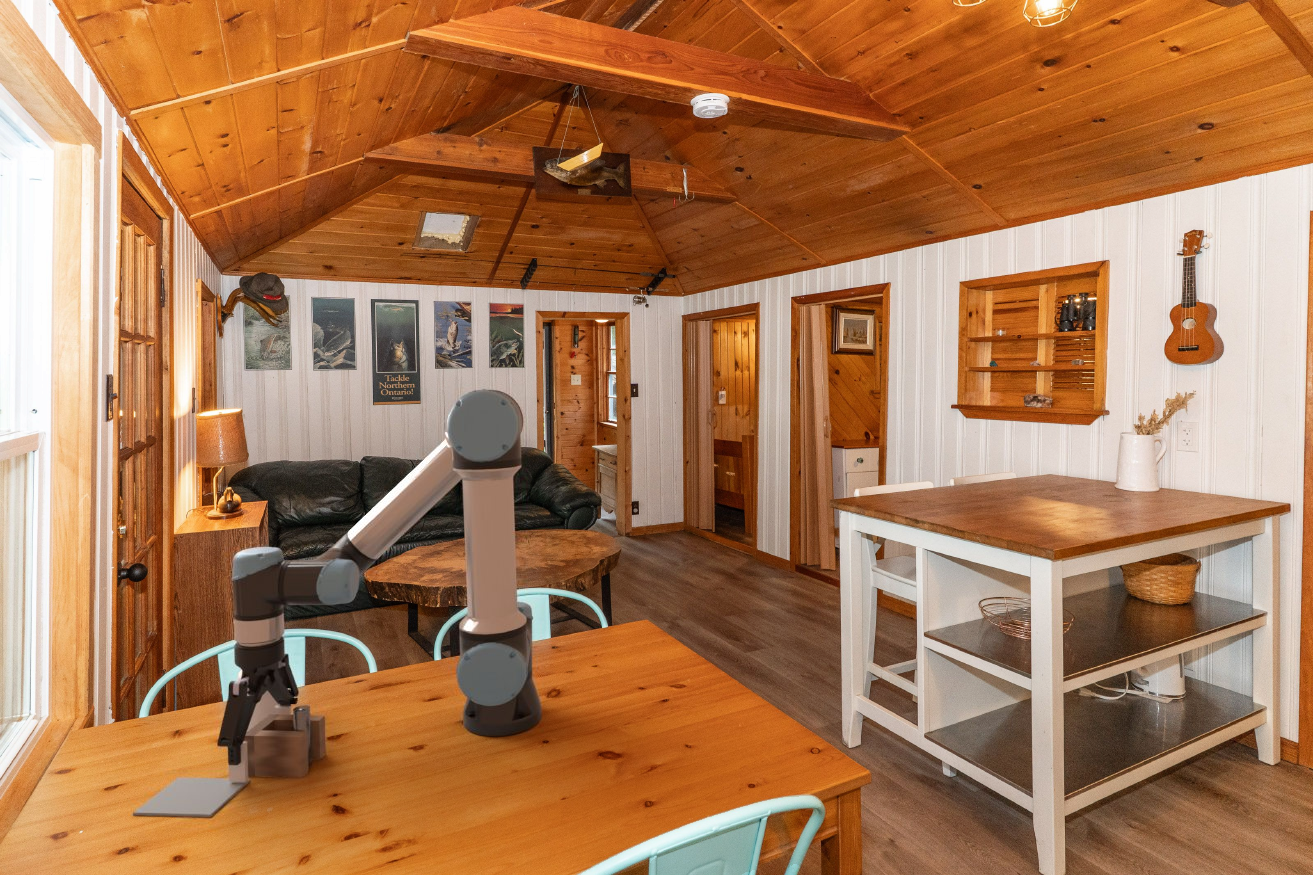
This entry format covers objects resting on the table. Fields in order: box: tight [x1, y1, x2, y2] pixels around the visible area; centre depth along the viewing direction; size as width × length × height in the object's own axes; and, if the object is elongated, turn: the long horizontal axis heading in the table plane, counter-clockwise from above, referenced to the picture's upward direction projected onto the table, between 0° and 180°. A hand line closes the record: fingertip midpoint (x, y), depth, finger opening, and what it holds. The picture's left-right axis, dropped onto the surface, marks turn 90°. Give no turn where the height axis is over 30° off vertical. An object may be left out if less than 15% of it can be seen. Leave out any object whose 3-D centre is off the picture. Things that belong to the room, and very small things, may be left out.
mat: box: [132, 776, 251, 818], centre depth 114 cm, size 12×10×1 cm
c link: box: [244, 714, 327, 779], centre depth 124 cm, size 10×8×7 cm
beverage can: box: [237, 668, 280, 732], centre depth 138 cm, size 8×8×12 cm
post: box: [292, 704, 312, 768], centre depth 124 cm, size 3×3×10 cm
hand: (262, 760), depth 124 cm, fingers open, 13 cm apart
